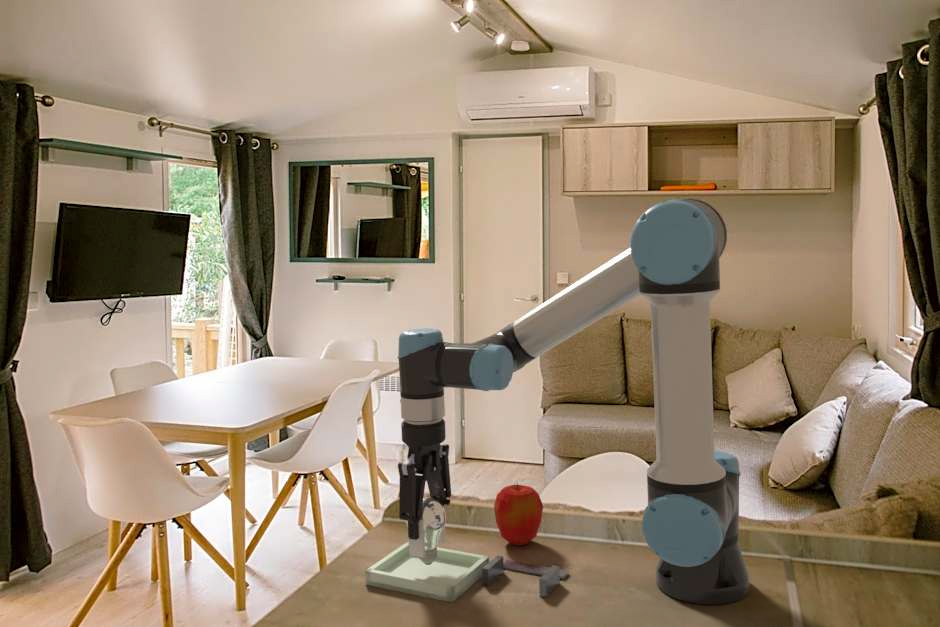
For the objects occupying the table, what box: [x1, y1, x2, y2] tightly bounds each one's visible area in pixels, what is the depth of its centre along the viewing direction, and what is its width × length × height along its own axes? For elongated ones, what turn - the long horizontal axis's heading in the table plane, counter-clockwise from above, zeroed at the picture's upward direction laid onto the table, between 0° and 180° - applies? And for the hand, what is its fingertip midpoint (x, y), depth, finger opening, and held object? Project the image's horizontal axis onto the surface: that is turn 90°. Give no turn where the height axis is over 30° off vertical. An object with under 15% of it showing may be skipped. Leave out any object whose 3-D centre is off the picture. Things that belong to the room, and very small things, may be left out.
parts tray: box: [364, 541, 490, 604], centre depth 155 cm, size 17×14×2 cm
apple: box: [493, 482, 544, 546], centre depth 169 cm, size 9×9×12 cm
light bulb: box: [405, 496, 447, 565], centre depth 154 cm, size 7×7×12 cm
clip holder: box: [481, 555, 570, 598], centre depth 153 cm, size 12×10×3 cm
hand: (427, 547), depth 155 cm, fingers closed on light bulb, 6 cm apart
